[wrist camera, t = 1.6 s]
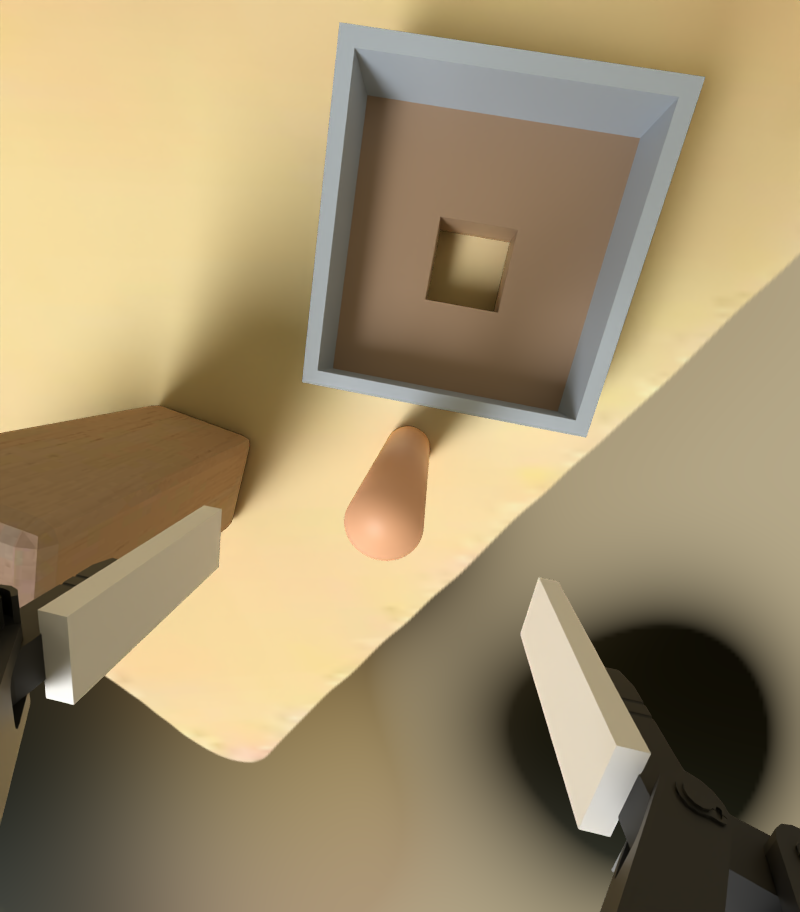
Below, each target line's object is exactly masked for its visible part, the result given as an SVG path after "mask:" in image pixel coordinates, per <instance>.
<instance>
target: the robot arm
mask: <svg viewBox="0 0 800 912" xmlns="http://www.w3.org/2000/svg"><path fill="white" fill-rule="evenodd" d="M221 516H222V509H219V508H215V507H210V506H205V505H204V506H202V507H201V508H199V509H197V510H196V511H194V512H193V513H191V514H189V515H188V516H186V517H185V518H183V519H182V520H180V521H178V522H177V523H175V524H174V525H172V526H170V527H169V528H167V529H166V530H164V531H162V532H161V533H159V534H158V535H156V536H154V537H153V538H151V539H150V540H148V541H147V542H145V543H143V544H142V545H140V546H139V547H137V548H135V549H134V550H132V551H131V552H129V553H127V554H126V555H124V556H123V557H121V558H119V559H115V558H110V559H107V560H104V561H102V562H99V563H96V564H93V565H91V566H89V567H88V568H86V569H84V570H83V571H81V572H79V573H78V574H76V576H75V577H74V576H73V577H71V578H69V579H68V580H66V581H64V582H63V584H62V585H60V584H59V585H58V586H56V587H54V588H53V589H51V590H49V591H48V592H46V593H44V594H43V595H41V596H39V597H38V598H36V599H34V600H32V601H31V602H29V603H27V604H26V605H24V606H22V607H21V608H20V607H19V598H18V590H17V589H16V588H14V587H13V586H9V585H2V584H0V824H1V820H2V815H3V812H4V808H5V803H6V799H7V795H8V791H9V787H10V783H11V779H12V775H13V771H14V767H15V763H16V759H17V755H18V751H19V747H20V742H21V738H22V734H23V730H24V727H25V722H26V718H27V714H28V710H29V706H30V694H29V693H30V692H31V691H32V690H33V689H34V688H36V687H37V686H38V685H39V684H40V683H42V682H43V681H44V680H45V690H46V698H48V699H52V700H57V701H61V702H64V703H69V704H73V705H74V704H75V703H76V702H77V701H78V700H79V699H80V698H81V697H82V696H84V695H85V694H86V693H87V692H88V691H89V690H90V689H91V688H92V687H93V686H94V685H95V684H96V683H97V682H98V681H99V680H100V679H101V678H102V677H103V676H105V675H106V674H107V673H108V672H109V671H110V670H111V669H112V668H113V667H114V666H115V665H116V664H117V663H118V662H119V661H120V660H121V659H122V658H123V657H125V656H126V655H127V654H128V653H129V652H130V651H131V650H132V649H133V648H134V647H135V646H136V645H137V644H138V643H139V642H140V641H141V640H142V639H143V638H144V637H146V636H147V635H148V634H149V633H150V632H151V631H152V630H153V629H154V628H155V627H156V626H157V625H158V624H159V623H160V622H161V621H162V620H163V619H164V618H166V617H167V616H168V615H169V614H170V613H171V612H172V611H173V610H174V609H175V608H176V607H177V606H178V605H179V604H180V603H181V602H182V601H183V600H184V599H185V598H187V597H188V596H189V595H190V594H191V593H192V592H193V591H194V590H195V589H196V588H197V587H198V586H199V585H200V584H201V583H202V582H203V581H204V580H205V579H207V578H208V577H209V576H210V575H211V574H212V573H213V572H214V571H215V570H216V569H217V568H218V567H219V552H220V534H221ZM521 638H522V641H523V645H524V648H525V651H526V655H527V658H528V661H529V665H530V668H531V671H532V675H533V678H534V682H535V685H536V688H537V691H538V695H539V698H540V701H541V705H542V708H543V712H544V715H545V718H546V721H547V725H548V728H549V731H550V735H551V738H552V742H553V745H554V748H555V752H556V755H557V759H558V762H559V765H560V768H561V772H562V775H563V779H564V782H565V785H566V788H567V791H568V795H569V799H570V802H571V805H572V809H573V812H574V815H575V819H576V822H577V825H578V829H581V830H584V831H589V832H593V833H597V834H601V835H605V836H609V837H610V836H611V834H612V832H613V830H614V828H615V826H616V824H617V822H618V820H619V821H620V824H621V826H622V829H623V831H624V834H625V837H626V839H627V841H626V843H625V845H624V847H623V849H622V851H621V853H620V855H619V857H618V859H617V860H616V862H615V864H614V867H613V868H612V871H613V872H614V874H613V877H612V880H611V883H610V885H609V888H608V891H607V894H606V897H605V899H604V902H603V905H602V908H601V911H600V912H800V829H799V828H797V827H795V826H793V825H786V824H780V825H779V826H778V827H777V828H776V829H775V830H774V832H773V833H772V835H771V836H770V835H768V834H765V833H764V832H762V831H760V830H758V829H756V828H754V827H752V826H750V825H749V824H747V823H745V822H743V821H741V820H739V819H737V818H735V817H733V816H732V815H730V814H729V813H728V811H727V809H726V808H725V806H724V804H723V803H722V802H721V801H720V799H719V798H718V797H717V796H716V795H715V793H714V792H713V791H712V790H710V789H709V788H708V787H707V786H706V785H705V784H704V783H703V782H701V781H700V780H699V779H697V778H696V777H694V776H692V775H691V774H689V773H688V772H686V771H684V770H683V768H682V766H681V765H680V763H679V761H678V760H677V758H676V756H675V755H674V753H673V751H672V750H671V748H670V746H669V745H668V743H667V741H666V739H665V738H664V736H663V734H662V733H661V731H660V729H659V728H658V726H657V724H656V723H655V721H654V720H653V719H651V714H650V713H649V711H648V709H647V708H646V706H645V705H643V701H642V699H641V698H640V696H639V694H638V693H637V691H636V689H635V688H634V686H633V685H632V684H631V683H630V682H629V681H628V680H627V679H626V678H625V677H624V676H623V675H622V674H621V672H620V671H618V670H615V669H610V668H606V667H604V666H603V664H602V662H601V660H600V658H599V656H598V654H597V652H596V651H595V649H594V647H593V645H592V643H591V641H590V640H589V638H588V636H587V634H586V632H585V630H584V628H583V626H582V625H581V623H580V621H579V619H578V617H577V615H576V614H575V612H574V610H573V608H572V606H571V604H570V602H569V600H568V599H567V597H566V595H565V593H564V591H563V589H562V587H561V586H560V584H559V582H558V581H555V580H550V579H545V578H541V577H539V578H538V581H537V584H536V587H535V590H534V594H533V597H532V600H531V603H530V606H529V609H528V612H527V615H526V618H525V621H524V624H523V627H522V630H521Z"/></svg>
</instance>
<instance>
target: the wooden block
mask: <svg viewBox="0 0 800 912" xmlns="http://www.w3.org/2000/svg"><path fill="white" fill-rule="evenodd" d="M249 446H250V444H249V440H248V439H247V438H246V437H244V436H242V435H240V434H237V433H234V432H231V431H229V430H226V429H223V428H220V427H218V426H215V425H212V424H209V423H207V422H204V421H201V420H198V419H196V418H193V417H190V416H187V415H185V414H182V413H179V412H176V411H173V410H171V409H168V408H165V407H162V406H160V405H157V406H148V407H142V408H136V409H131V410H125V411H120V412H114V413H109V414H103V415H98V416H92V417H87V418H81V419H76V420H70V421H65V422H59V423H53V424H48V425H42V426H37V427H31V428H26V429H20V430H15V431H9V432H4V433H0V584H2V585H9V586H13V587H14V588H16V589H17V590H18V598H19V607H20V608H21V607H22V606H24V605H26V604H27V603H29V602H31V601H32V600H34V599H36V598H38V597H39V596H41V595H43V594H44V593H46V592H48V591H49V590H51V589H53V588H54V587H56V586H58V585H59V584H60V585H62V584H63V582H64V581H66V580H68V579H69V578H71V577H73V576H74V577H75V576H76V574H78V573H79V572H81V571H83V570H84V569H86V568H88V567H89V566H91V565H93V564H96V563H99V562H102V561H104V560H107V559H110V558H115V559H119V558H121V557H123V556H124V555H126V554H127V553H129V552H131V551H132V550H134V549H135V548H137V547H139V546H140V545H142V544H143V543H145V542H147V541H148V540H150V539H151V538H153V537H154V536H156V535H158V534H159V533H161V532H162V531H164V530H166V529H167V528H169V527H170V526H172V525H174V524H175V523H177V522H178V521H180V520H182V519H183V518H185V517H186V516H188V515H189V514H191V513H193V512H194V511H196V510H197V509H199V508H201V507H202V506H204V505H205V506H210V507H215V508H219V509H222V516H221V532H222V531H223V530H225V529H226V528H227V527H228V526H229V525H230V524H231V522H232V519H233V515H234V510H235V506H236V502H237V498H238V493H239V489H240V485H241V481H242V476H243V472H244V468H245V463H246V459H247V455H248V451H249Z"/></svg>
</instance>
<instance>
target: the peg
mask: <svg viewBox="0 0 800 912" xmlns="http://www.w3.org/2000/svg"><path fill="white" fill-rule="evenodd" d="M429 453H430V444H429V441H428V438H427V437H426V435H425V434H424V433H423V432H422V431H421V430H419V429H418V428H415V427H412V426H404V427H400V428H398V429H396V430H395V431H393V432H392V433H391V434H390V436H389V437H388V439H387V441H386V443H385V444H384V446H383V448H382V449H381V451H380V453H379V455H378V456H377V458H376V460H375V461H374V463H373V465H372V467H371V468H370V470H369V472H368V473H367V475H366V477H365V478H364V480H363V482H362V484H361V485H360V487H359V489H358V490H357V492H356V494H355V496H354V497H353V499H352V501H351V502H350V504H349V506H348V508H347V510H346V513H345V519H344V525H345V531H346V534H347V536H348V538H349V540H350V542H351V543H352V545H353V546H354V547H355V548H356V549H357V550H358V551H360V552H361V553H362V554H364V555H366V556H368V557H370V558H373V559H376V560H383V561H389V560H396V559H399V558H402V557H404V556H406V555H408V554H409V553H411V552H412V551H413V550H414V549H415V548H416V547H417V545H418V544H419V542H420V540H421V538H422V534H423V528H424V515H425V503H426V490H427V478H428V465H429Z"/></svg>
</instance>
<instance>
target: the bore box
mask: <svg viewBox="0 0 800 912" xmlns="http://www.w3.org/2000/svg"><path fill="white" fill-rule="evenodd" d="M704 80H705V77H702V76H696V75H689V74H682V73H675V72H669V71H662V70H655V69H649V68H642V67H635V66H629V65H622V64H615V63H608V62H602V61H595V60H588V59H582V58H575V57H568V56H562V55H555V54H548V53H541V52H535V51H528V50H521V49H515V48H508V47H501V46H494V45H488V44H481V43H474V42H468V41H461V40H454V39H448V38H441V37H434V36H427V35H421V34H414V33H407V32H401V31H394V30H387V29H380V28H374V27H367V26H360V25H354V24H347V23H340V24H339V33H338V43H337V52H336V62H335V72H334V81H333V91H332V100H331V110H330V119H329V129H328V139H327V148H326V158H325V167H324V177H323V186H322V196H321V206H320V215H319V225H318V234H317V244H316V254H315V263H314V273H313V282H312V292H311V301H310V311H309V321H308V330H307V340H306V349H305V359H304V369H303V378H302V382H304V383H309V384H314V385H319V386H325V387H330V388H335V389H340V390H345V391H350V392H355V393H361V394H366V395H371V396H376V397H381V398H386V399H391V400H396V401H402V402H407V403H412V404H417V405H422V406H427V407H432V408H438V409H443V410H448V411H453V412H458V413H463V414H468V415H473V416H479V417H484V418H489V419H494V420H499V421H504V422H509V423H515V424H520V425H525V426H530V427H535V428H540V429H545V430H551V431H556V432H561V433H566V434H571V435H576V436H581V437H586V436H587V433H588V430H589V427H590V424H591V421H592V418H593V415H594V412H595V409H596V406H597V403H598V400H599V397H600V394H601V391H602V388H603V385H604V382H605V379H606V376H607V373H608V370H609V367H610V364H611V361H612V358H613V355H614V352H615V349H616V346H617V343H618V340H619V337H620V334H621V331H622V328H623V325H624V321H625V318H626V315H627V312H628V309H629V306H630V303H631V300H632V297H633V294H634V291H635V288H636V285H637V282H638V279H639V276H640V273H641V270H642V267H643V264H644V261H645V258H646V255H647V252H648V249H649V246H650V243H651V240H652V237H653V234H654V231H655V228H656V225H657V222H658V219H659V216H660V213H661V210H662V207H663V204H664V201H665V197H666V194H667V191H668V188H669V185H670V182H671V179H672V176H673V173H674V170H675V167H676V164H677V161H678V158H679V155H680V152H681V149H682V146H683V143H684V140H685V137H686V134H687V131H688V128H689V125H690V122H691V119H692V116H693V113H694V110H695V107H696V104H697V101H698V98H699V95H700V92H701V89H702V86H703V83H704ZM440 230H442V231H448V232H453V233H459V234H465V235H471V236H477V237H482V238H488V239H494V240H500V241H505V242H510V244H509V248H508V252H507V257H506V261H505V265H504V269H503V274H502V278H501V282H500V286H499V291H498V295H497V299H496V303H495V308H494V312H492V311H486V310H481V309H475V308H470V307H464V306H459V305H453V304H448V303H442V302H437V301H431V300H427V298H428V292H429V287H430V282H431V276H432V271H433V266H434V260H435V255H436V249H437V244H438V239H439V233H440Z"/></svg>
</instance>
